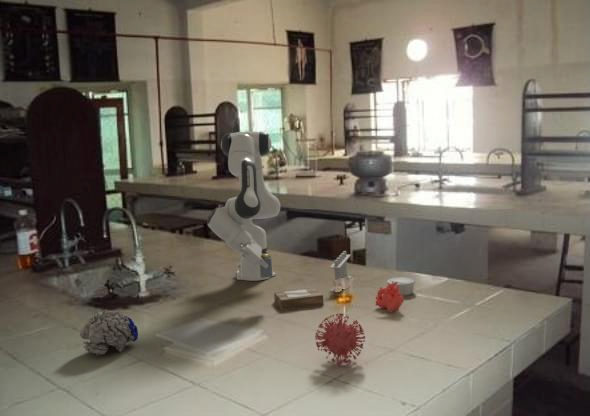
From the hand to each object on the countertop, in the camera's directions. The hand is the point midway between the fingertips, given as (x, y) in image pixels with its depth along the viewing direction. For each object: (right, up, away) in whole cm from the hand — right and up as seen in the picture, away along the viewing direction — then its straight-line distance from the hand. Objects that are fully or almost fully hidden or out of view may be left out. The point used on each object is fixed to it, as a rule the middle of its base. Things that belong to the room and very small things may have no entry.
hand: (267, 264), depth 247 cm
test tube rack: (+31, -12, +30) cm, 45 cm away
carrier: (0, -4, +1) cm, 4 cm away
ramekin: (+55, -13, +14) cm, 58 cm away
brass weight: (-1, +2, 0) cm, 3 cm away
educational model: (-50, -25, -38) cm, 68 cm away
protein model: (+47, -17, -8) cm, 50 cm away
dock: (+12, -16, +5) cm, 21 cm away
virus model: (+25, -25, -58) cm, 67 cm away
